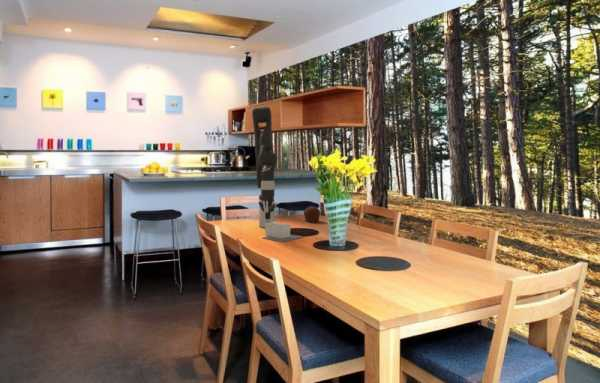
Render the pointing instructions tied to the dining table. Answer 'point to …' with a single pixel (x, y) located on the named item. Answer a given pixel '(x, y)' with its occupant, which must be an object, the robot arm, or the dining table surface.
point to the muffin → (312, 214)
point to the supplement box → (277, 230)
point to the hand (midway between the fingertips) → (267, 219)
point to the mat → (292, 237)
